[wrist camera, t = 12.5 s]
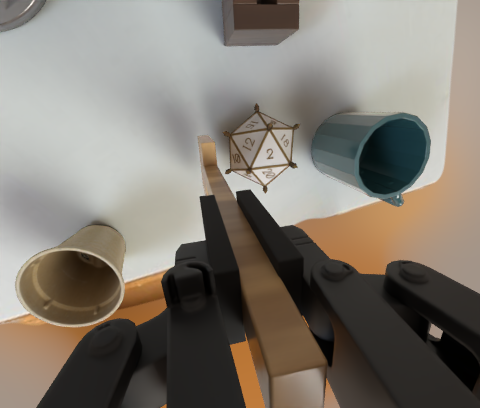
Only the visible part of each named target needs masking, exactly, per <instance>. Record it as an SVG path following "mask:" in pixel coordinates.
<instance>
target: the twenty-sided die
mask: <svg viewBox="0 0 480 408" xmlns="http://www.w3.org/2000/svg"><path fill="white" fill-rule="evenodd" d="M254 108H255V109H254V110H255V111H256V112H255V113H254V114H253V115H252V116H251V117H249V118H248V119H247V120H246V121H245V122H244V123H242V124H241V125H240V126H239V127H238V128H237V129H235V130H234V131H233V132H232V133H231V134H230V133H229V132H227V131H224V132H223V134H224V136H227V137H229V145H230V169H228V170H226V172H225V174H229V173H231V171H233V172H235V173H237V174H239V175H241V176H243V177H246V178H248V179H250V180H252V181H254V182H256V183H258V184H260V185H262V186H263V191H264V192H265V194H266V192H267V187H266V186H267V185H268V184H269V183H270V182H271V181H273V180H274V179H275V178H276V177H277V176H278V175H280V174H281V173H282V172H283V171H284V170H285V169H287V168H288V167H289V166H291V167H292V168H298V167H297V166H296V163H295V164H294V163H293V162H292V148H293V134H294V130H295V129H297V128H299V126H300V124H296V125H294V126H293V127H290V126H288V125H286V124H284V123H282V122H280V121H277V120H275V119H273V118H271V117H269V116H267V115H265V114H263V113H261V112H259V106H258V105H257V103H256V105H255V107H254Z"/></svg>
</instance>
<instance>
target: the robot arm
mask: <svg viewBox="0 0 480 408" xmlns="http://www.w3.org/2000/svg"><path fill="white" fill-rule="evenodd" d="M45 2H46V0H0V32H3V31H7V30H11V29H14V28H16V27H19V26H21V25H23V24H24V23H26V22H28V21H29V20H30V19H31V18H33V17H34V16H35V15H36V14H37V13H38V12H39V11H40V9H41V8H42V7H43V5H44V4H45ZM236 195H237V203H238V205H239V207H240V208H241V210H242V212H243V214H244V216H245V217H246V219H247V221H248V223H249V224H250V226H251V228H252V230H253V232H254V233H255V235H256V237H257V239H258V241H259V242H260V244H261V246H262V248H263V250H264V251H265V253H266V255H267V257H268V258H269V260H270V262H271V264H272V266H273V267H274V269H275V271H276V273H277V275H278V276H279V278H281V280H282V282H283V283H284V285H285V287H286V289H287V291H288V292H289V294H290V296H291V298H292V299H293V301H294V303H295V305H296V306H297V308H298V310H299V312H300V314H301V315H302V316H304V318H305V320H306V321H307V323H308V325H309V329H310V331H311V333H312V335H313V336H314V338H315V340H316V342H317V344H318V345H319V347H320V349H321V351H322V352H323V354H324V356H325V358H326V360H327V363H328V366H327V376H326V378H327V380H328V382H329V384H330V386H331V388H332V391H333V393H334V395H335V397H336V399H337V401H338V404H339V406H340V408H480V294H479V293H477V292H475V291H473V290H471V289H469V288H468V287H466V286H464V285H462V284H460V283H458V282H456V281H454V280H452V279H450V278H448V277H447V276H445V275H443V274H441V273H439V272H437V271H435V270H433V269H431V268H429V267H427V266H425V265H422V264H420V263H416V262H412V261H403V260H399V261H393V262H391V263H389V264H388V265H387V268H386V273H385V275H376V274H360V273H358V271H357V270H356V269H355V268H353V267H352V266H351V265H349V264H347V263H345V262H342V261H338V260H333V259H330V258H329V257H328V256H327V255H326V254H325V253H324V252H323V251H322V250H321V249H320V248H319V247H318V246H317V245H316V243H314V242H313V240H312V239H311V238H309V237H308V235H307V234H306V233H305V232H304V231H303V230H302V229H300V228H298V227H296V226H293V225H290V226H284V227H279V225H278V224H277V223H276V222H275V220H274V219H273V218H272V217H271V215H270V214H269V213H268V211H267V210H266V209H265V208H264V206H263V205H262V204H261V203H260V201H259V200H258V199H257V198H256V196H255V195H254V194H253V192H252V191H251V190H243V191H236ZM200 203H201V210H202V217H203V224H204V231H205V238H206V240H205V241H199V242H193V243H187V244H181V246H180V247H179V248H178V250H177V251H176V257H175V266H174V267H172V268H170V269H169V270H168V271H167V272H166V273H165V274H164V275H163V278H162V281H161V283H162V287H163V292H164V296H165V300H166V304H167V308H166V309H165V310H164V311H163V312H162V313H161V314H159V315H158V316H156V317H154V318H153V319H151V320H149V321H147V322H145V323H143V324H140V325H138V326H135V323H133V322H132V321H130V320H129V319H120V318H119V319H114V320H110V321H107V322H105V323H102V324H101V325H98V326H96V327H95V328H94V329H92V330H91V331H90V332H88V333H87V334H86V335H85V336H84V337H83V338H82V340H81V341H80V342H79V343H78V345H77V346H76V348H75V349H74V351H73V352H72V354H71V355H70V357H69V358H68V360H67V362H66V363H65V364H64V366H63V368H62V369H61V371H60V372H59V374H58V375H57V377H56V378H55V380H54V381H53V383H52V384H51V386H50V387H49V389H48V391H47V392H46V394H45V395H44V397H43V398H42V400H41V401H40V403H39V404H38V406H37V407H36V408H160V407H162V406H164V405H165V404H167V408H246V406H245V402H244V398H243V394H242V390H241V386H240V383H239V379H238V375H237V371H236V367H235V363H234V359H233V356H232V352H231V348H230V344H235V343H239V342H243V341H246V338H245V329H244V325H243V313H242V299H241V283H240V272H239V267H238V264H237V261H236V258H235V255H234V252H233V249H232V246H231V243H230V240H229V237H228V234H227V231H226V228H225V225H224V222H223V219H222V216H221V213H220V210H219V207H218V204H217V201H216V198H215V195H207V196H200ZM431 324H434V325H435V326H437V327H438V328H440V329H441V330H442V331H443V333H442V337H441V339H439V338H435V337H434V336H432V335H430V334H429V331H430V327H431Z"/></svg>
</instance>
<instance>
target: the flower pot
mask: <svg viewBox="0 0 480 408" xmlns="http://www.w3.org/2000/svg"><path fill="white" fill-rule="evenodd" d="M125 252H126V246H125V241H124V239H123V237H122V236H121V235H120V233H118V232H117V231H116V230H114V229H113V228H111V227H108V226H100V225H90V226H87V227H84V228H82V229H81V230H79V231H78V232H77V233H76V234H74V235H73V236H72V237H70V238H69V239H67V240H66V241H64V242H63V243H62V244H60V245H59V246H57V247H54V248H51V249H47V250H44V251H42V252H40V253H38V254H36V255H34V256H33V257H31V258H30V259H29V260H28V261H27V262H26V263H25V264H24V265H23V266H22V267H21V269H20V270H19V272H18V275H17V277H16V282H15V288H16V293H17V297H18V299H19V301H20V303H21V304H22V305H23V307H24V308H25V309H26V310H27V311H28V312H29V313H30V314H32V315H33V316H35V317H36V318H39V319H40V320H43V321H45V322H47V323H51V324H53V325H58V326H64V327H80V326H87V325H92V324H95V323H97V322H100V321H103V320H104V319H106V318H108V317H109V316H110V315H111V314H112V313H114V312H115V311H116V310H117V308H118V307H119V306H120V304H121V302H122V300H123V297H124V292H125V285H124V280H123V277H122V268H123V261H124V256H125ZM82 254H84V255H87V257H88V258H89V260H87V259H86V258H85V257H83V256H82Z"/></svg>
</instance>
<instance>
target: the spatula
mask: <svg viewBox="0 0 480 408" xmlns="http://www.w3.org/2000/svg"><path fill="white" fill-rule="evenodd" d="M198 145H199V153H200V162H201V171H202V179H203V186H204V190H205V195H206V196H207V195H215V198H216V201H217V204H218V207H219V210H220V213H221V216H222V219H223V222H224V225H225V228H226V231H227V234H228V237H229V240H230V243H231V246H232V249H233V252H234V255H235V258H236V261H237V264H238V267H239V272H240V283H241V299H242V313H243V325H244V329H245V333H246V337H247V340H248V343H249V348H250V351H251V355H252V359H253V362H254V366H255V370H256V374H257V377H258V381H259V385H260V389H261V392H262V396H263V400H264V404H265V407H266V408H324V398H325V387H326V376H327V366H328V363H327V360H326V358H325V356H324V354H323V352H322V351H321V349H320V347H319V345H318V344H317V342H316V340H315V338H314V336H313V335H312V333H311V331H310V329H309V328H308V326H307V324H306V322H305V321H304V319H303V317H302V315H301V314H300V312H299V310H298V308H297V306H296V305H295V303H294V301H293V299H292V298H291V296H290V294H289V292H288V291H287V289H286V287H285V285H284V283H283V282H282V280H281V278H279V276H278V275H277V273H276V271H275V269H274V267H273V266H272V264H271V262H270V260H269V258H268V257H267V255H266V253H265V251H264V250H263V248H262V246H261V244H260V242H259V241H258V239H257V237H256V235H255V233H254V232H253V230H252V228H251V226H250V224H249V223H248V221H247V219H246V217H245V216H244V214H243V212H242V210H241V208H240V207H239V205H238V203H237V200H236V199H235V197H234V195H233V193H232V191H231V190H230V188H229V186H228V184H227V183H226V181H225V179H224V177H223V176H222V174H221V172H220V170H219V168H218V167H217V160H216V149H215V142H214V141H213V140H212V139H211V138H210V137H209V135H202V136H198Z"/></svg>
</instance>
